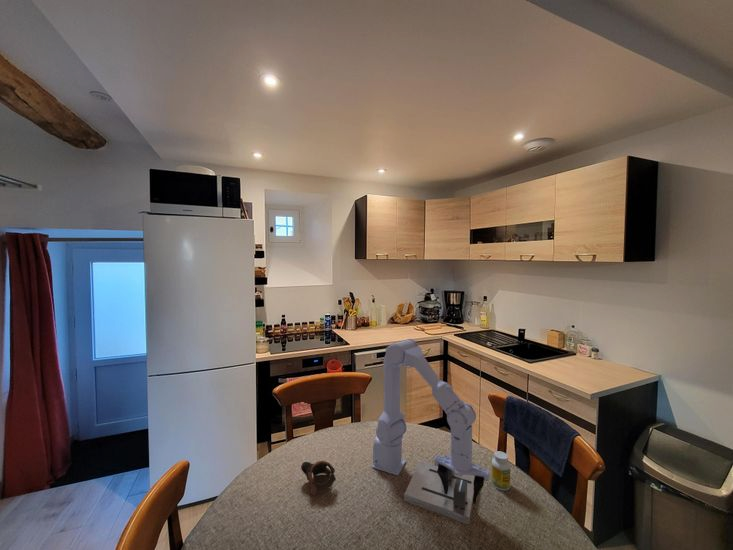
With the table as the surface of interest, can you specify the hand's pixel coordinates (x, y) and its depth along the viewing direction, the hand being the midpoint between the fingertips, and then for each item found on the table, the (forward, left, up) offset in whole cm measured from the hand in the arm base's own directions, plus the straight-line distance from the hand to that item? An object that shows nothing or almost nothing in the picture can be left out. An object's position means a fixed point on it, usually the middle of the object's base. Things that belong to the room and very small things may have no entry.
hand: (460, 496), depth 83 cm
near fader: (0, 0, -1) cm, 1 cm away
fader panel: (-6, +4, -3) cm, 8 cm away
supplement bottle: (+10, +15, -4) cm, 18 cm away
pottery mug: (-41, -10, -4) cm, 43 cm away
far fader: (-5, +9, -1) cm, 10 cm away
